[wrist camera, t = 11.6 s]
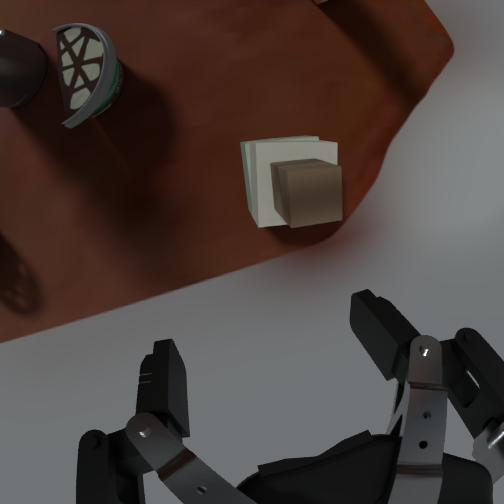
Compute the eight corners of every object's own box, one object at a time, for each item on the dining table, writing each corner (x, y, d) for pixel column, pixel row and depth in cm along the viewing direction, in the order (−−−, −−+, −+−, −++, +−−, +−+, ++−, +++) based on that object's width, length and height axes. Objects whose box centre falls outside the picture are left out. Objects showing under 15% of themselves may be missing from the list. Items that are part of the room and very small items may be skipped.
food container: (140, 112, 29) (118, 106, 20) (96, 127, 29) (62, 129, 20) (127, 30, 24) (105, 1, 15) (84, 46, 23) (51, 26, 14)
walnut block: (269, 162, 27) (287, 171, 22) (315, 158, 28) (341, 166, 23) (274, 208, 30) (291, 228, 24) (317, 202, 30) (342, 220, 25)
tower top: (248, 141, 30) (255, 143, 26) (322, 140, 31) (337, 142, 28) (252, 216, 34) (258, 227, 30) (321, 210, 35) (334, 220, 32)
